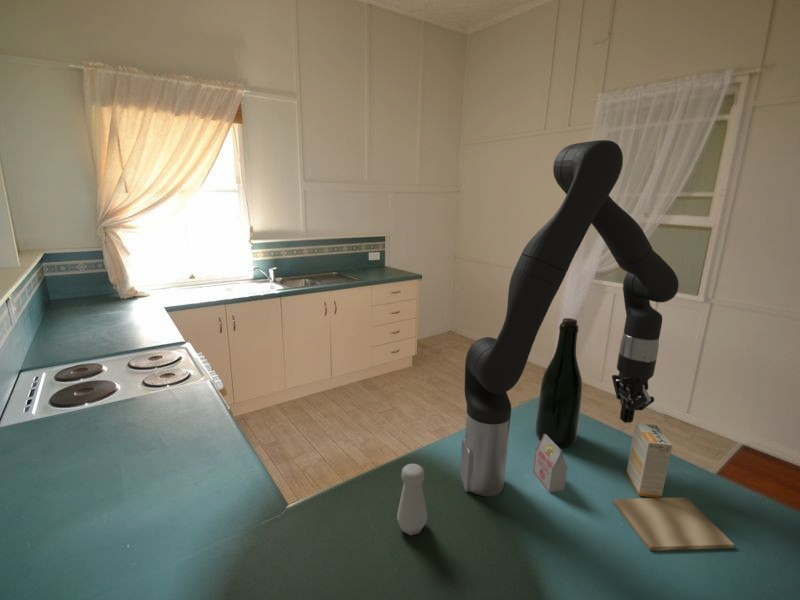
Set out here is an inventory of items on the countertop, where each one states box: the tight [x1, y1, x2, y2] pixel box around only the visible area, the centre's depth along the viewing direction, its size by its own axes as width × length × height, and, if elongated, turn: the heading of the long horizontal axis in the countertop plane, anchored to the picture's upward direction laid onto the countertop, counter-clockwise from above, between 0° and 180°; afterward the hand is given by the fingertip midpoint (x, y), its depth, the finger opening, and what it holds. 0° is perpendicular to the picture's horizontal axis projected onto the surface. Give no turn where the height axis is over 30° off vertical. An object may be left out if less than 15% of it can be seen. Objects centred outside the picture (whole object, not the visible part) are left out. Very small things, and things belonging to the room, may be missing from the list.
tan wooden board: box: [612, 496, 735, 552], centre depth 79 cm, size 16×12×1 cm
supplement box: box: [626, 422, 673, 498], centre depth 89 cm, size 8×5×13 cm, turn 168°
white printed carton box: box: [532, 434, 568, 493], centre depth 90 cm, size 4×7×10 cm, turn 11°
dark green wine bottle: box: [534, 317, 583, 448], centre depth 104 cm, size 10×10×33 cm
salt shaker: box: [396, 463, 428, 536], centre depth 76 cm, size 6×6×13 cm
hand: (625, 421), depth 97 cm, fingers closed
